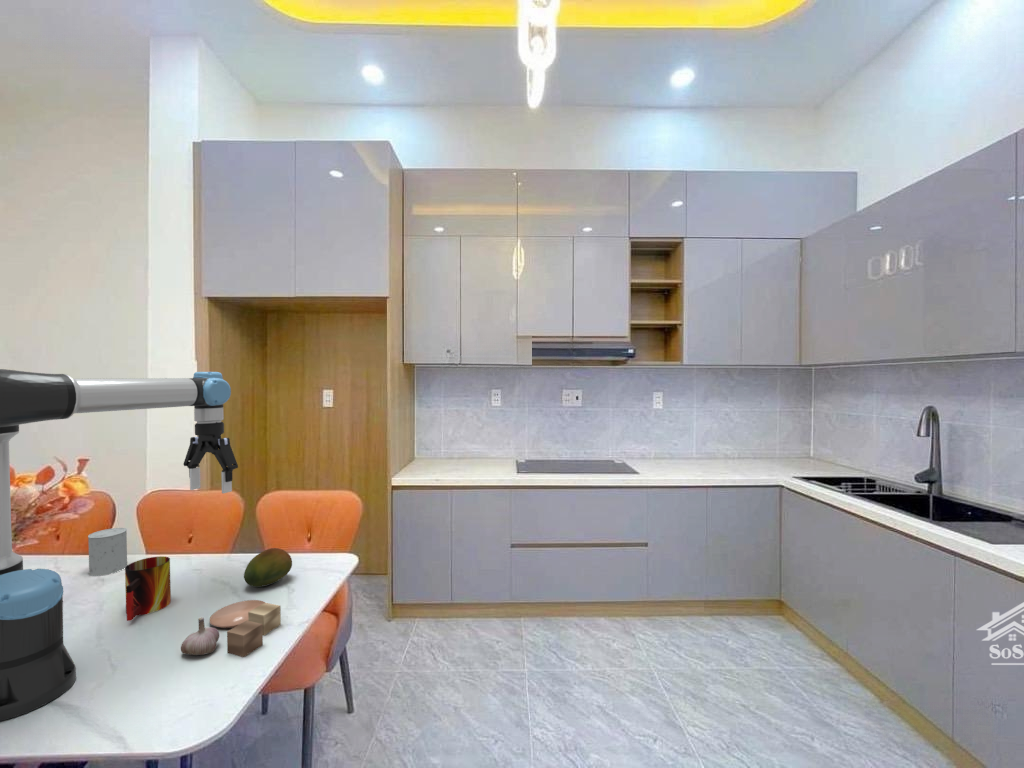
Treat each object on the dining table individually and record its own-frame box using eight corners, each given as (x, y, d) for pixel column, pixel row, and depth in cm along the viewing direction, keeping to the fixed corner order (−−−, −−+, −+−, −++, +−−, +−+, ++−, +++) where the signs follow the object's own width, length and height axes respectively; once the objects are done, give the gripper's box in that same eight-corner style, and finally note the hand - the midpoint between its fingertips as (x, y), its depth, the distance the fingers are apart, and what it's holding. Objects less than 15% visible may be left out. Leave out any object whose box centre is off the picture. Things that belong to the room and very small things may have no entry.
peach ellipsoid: (235, 634, 111) (235, 629, 111) (197, 625, 115) (197, 620, 115) (278, 608, 123) (278, 604, 123) (243, 601, 127) (243, 597, 127)
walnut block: (243, 657, 102) (243, 635, 102) (227, 653, 103) (226, 631, 103) (262, 645, 107) (262, 624, 106) (246, 641, 108) (246, 620, 108)
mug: (127, 626, 115) (125, 579, 115) (125, 606, 125) (124, 563, 125) (174, 612, 122) (173, 568, 121) (169, 594, 132) (168, 553, 132)
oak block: (263, 635, 110) (263, 615, 110) (248, 632, 112) (248, 612, 112) (280, 625, 115) (280, 605, 115) (265, 621, 117) (265, 602, 117)
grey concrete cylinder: (88, 569, 150) (87, 532, 150) (126, 561, 156) (126, 525, 156) (88, 579, 143) (87, 540, 143) (128, 570, 149) (127, 532, 149)
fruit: (298, 576, 143) (297, 544, 143) (270, 595, 131) (270, 560, 131) (265, 573, 145) (265, 542, 145) (235, 592, 133) (234, 558, 133)
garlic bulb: (220, 653, 103) (219, 619, 103) (180, 666, 99) (179, 629, 99) (218, 638, 109) (218, 605, 109) (181, 649, 105) (180, 615, 105)
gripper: (250, 421, 139) (251, 490, 140) (193, 419, 148) (194, 484, 148) (227, 424, 132) (229, 496, 133) (168, 422, 141) (170, 490, 141)
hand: (210, 490), depth 140 cm, fingers open, 13 cm apart
